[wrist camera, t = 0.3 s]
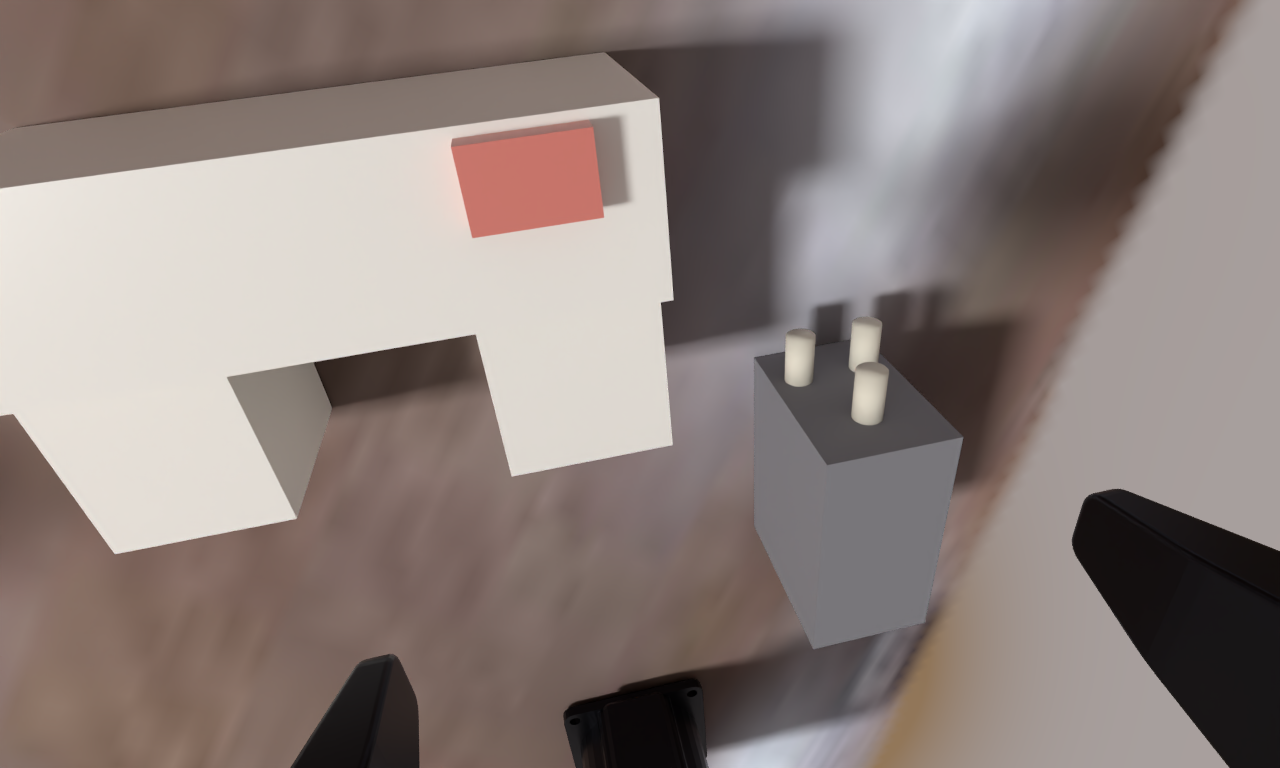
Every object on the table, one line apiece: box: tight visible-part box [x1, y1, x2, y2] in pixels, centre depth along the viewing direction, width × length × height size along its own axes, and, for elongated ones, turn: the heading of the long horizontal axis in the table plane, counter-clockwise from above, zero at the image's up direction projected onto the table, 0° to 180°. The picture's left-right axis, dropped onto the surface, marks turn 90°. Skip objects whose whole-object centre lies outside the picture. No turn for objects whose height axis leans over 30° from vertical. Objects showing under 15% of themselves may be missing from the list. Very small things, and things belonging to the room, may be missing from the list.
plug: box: [754, 317, 963, 649], centre depth 23 cm, size 10×4×6 cm, turn 5°
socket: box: [0, 52, 674, 554], centre depth 16 cm, size 9×14×7 cm, turn 95°
